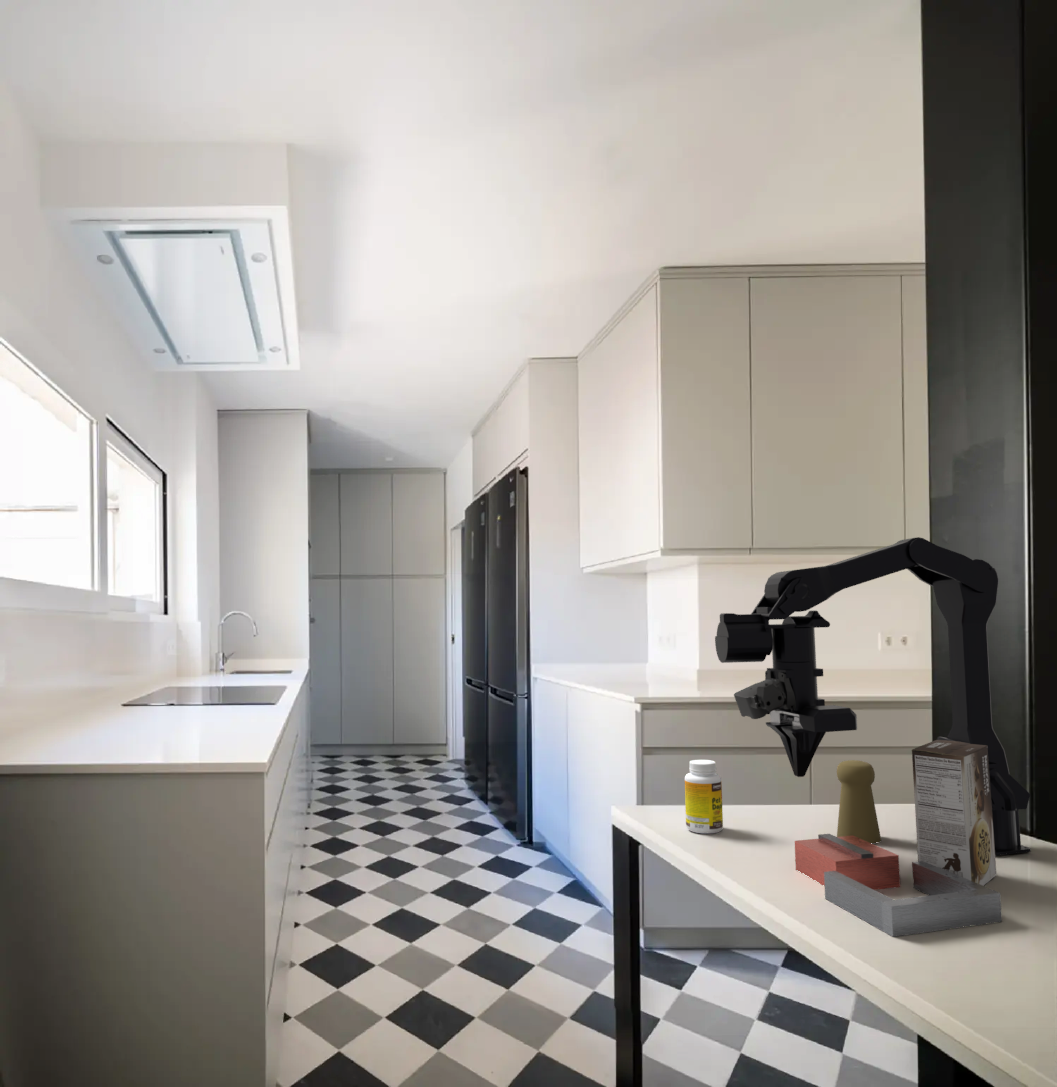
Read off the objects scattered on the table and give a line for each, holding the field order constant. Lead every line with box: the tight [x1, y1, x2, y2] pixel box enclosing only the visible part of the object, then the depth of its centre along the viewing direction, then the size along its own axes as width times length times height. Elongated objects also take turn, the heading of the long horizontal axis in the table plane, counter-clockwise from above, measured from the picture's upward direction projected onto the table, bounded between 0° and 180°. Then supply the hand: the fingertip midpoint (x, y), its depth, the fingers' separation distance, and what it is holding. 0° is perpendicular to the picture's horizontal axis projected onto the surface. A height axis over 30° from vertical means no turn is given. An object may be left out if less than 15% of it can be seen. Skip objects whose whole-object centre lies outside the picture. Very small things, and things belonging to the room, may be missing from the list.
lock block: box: [794, 833, 901, 891], centre depth 101 cm, size 8×9×4 cm
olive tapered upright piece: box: [836, 759, 882, 844], centre depth 118 cm, size 6×6×11 cm
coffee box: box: [911, 739, 997, 886], centre depth 100 cm, size 9×6×16 cm
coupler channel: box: [824, 860, 1003, 938], centre depth 90 cm, size 14×12×3 cm
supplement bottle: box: [684, 759, 724, 835], centre depth 124 cm, size 6×6×10 cm
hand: (799, 776), depth 111 cm, fingers closed
